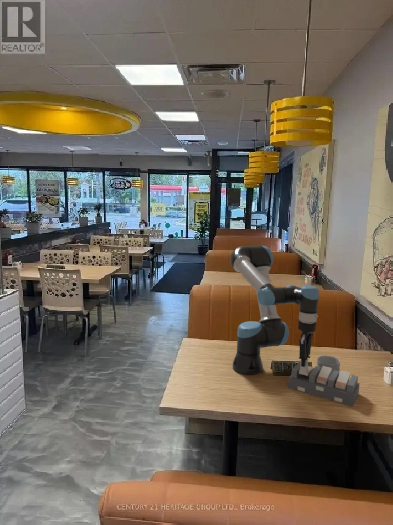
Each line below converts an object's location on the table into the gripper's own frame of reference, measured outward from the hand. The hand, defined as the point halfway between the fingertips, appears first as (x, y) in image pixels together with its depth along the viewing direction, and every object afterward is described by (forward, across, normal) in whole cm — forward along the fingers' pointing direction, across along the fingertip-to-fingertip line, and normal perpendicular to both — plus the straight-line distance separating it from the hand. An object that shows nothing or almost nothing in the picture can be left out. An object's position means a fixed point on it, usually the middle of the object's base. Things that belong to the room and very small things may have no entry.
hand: (303, 372), depth 171 cm
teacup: (+8, +25, -5) cm, 27 cm away
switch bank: (+9, +5, -8) cm, 13 cm away
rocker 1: (+1, +5, 0) cm, 5 cm away
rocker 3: (+1, +5, -16) cm, 17 cm away
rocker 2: (+1, +5, -8) cm, 9 cm away
